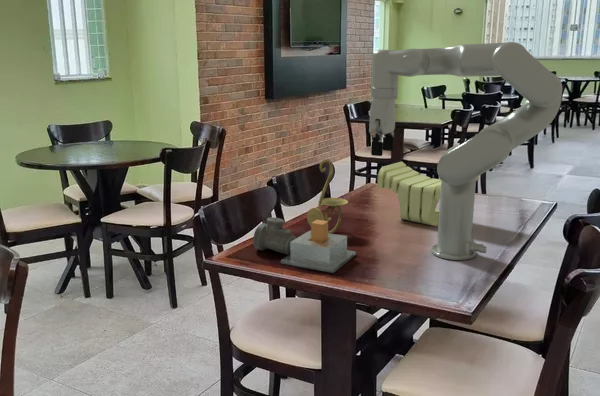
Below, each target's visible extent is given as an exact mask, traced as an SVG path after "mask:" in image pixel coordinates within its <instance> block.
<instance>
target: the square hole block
mask: <svg viewBox="0 0 600 396" xmlns="http://www.w3.org/2000/svg"><path fill="white" fill-rule="evenodd" d="M290 251H291V254H290V255H286V256H285V257H284V258H283V257H282V259H281V260H280V264H282V265H287V266H293V267H297V268H304V269H309V270H314V271H315V270H316V271H321V272H326V273H332V274H334V273H335V272H336V271H338V270H339V269H340V268H341V267H343V266H344V265H345V264H346V263H348V262H349V261H350V260H351V259H353V258H354V257H355V256H356V255H357V251H354V250H348V235H342V234H335V233H332V234H330V233H328V240H327V241H325V242H324V243H322V242H315V241H311V230H308V231H307V232H305V233H303V234H301V235H300V236H298V237H296V239H295V240H293V241H291V242H290ZM347 261H348V262H347Z"/></svg>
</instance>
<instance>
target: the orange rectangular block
mask: <svg viewBox="0 0 600 396" xmlns="http://www.w3.org/2000/svg"><path fill="white" fill-rule="evenodd" d="M310 228H311V229H310V231H311V241H315V242H322V243H324V242H325V241H327V240H328V232H329V221H327V220H324V221H323V220H315V221H313V222H312V223H311V226H310Z"/></svg>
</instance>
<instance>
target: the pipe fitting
mask: <svg viewBox="0 0 600 396" xmlns="http://www.w3.org/2000/svg"><path fill="white" fill-rule="evenodd" d="M284 223H285V220H284V219H282V218H280V217H273V216H271V217H266V222H263V223H260V224H258V225H257V227H256V228H255V230H254V234H253V238H252V244H253V247H254V248H255V249H256V250H259V251H265V250H270V251H271V250H272V251H274V252H278V253H281V254H284V255H286V256H288V255H290V254H291V251H290V242H291V241H293V240H295V239H296V238H297V236H295V235H294V234H293V233H292V231H291V230H290V229H288V228H284V227H283V226H284Z"/></svg>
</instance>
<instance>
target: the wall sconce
mask: <svg viewBox="0 0 600 396" xmlns="http://www.w3.org/2000/svg"><path fill="white" fill-rule="evenodd" d="M325 163H328V164H329V173H328V176H327V179H326V182H325V184H324V186H323V189H322V190H321V194H320V196H319V200H318V204H317V205H318V206H317V207H311V208H310V209H309V210H308V212H307V215H306V219H307V223H308V224H309V226H310V227H311V223H312V222H313V221H315V220H323V221H328V222H329V221H331V220H332V219H333V218H332V217H328V215H329V211H330V210H331V211H330V213H331V216H335V212H336V210H334V209H335V208H336V209H337V211H338V217H337V218H338V219H337V223H336V224H335V226H334V227H333V228H332V229H331V230H328V233H330V234H334V233H335V232H336V231H337V229H338V228H339V226H340V224H341V222H342V216H343V215H342V209H341V206H345V205H347V204H349V201H348V199H345V198H340V197H326V198H324V197H325V193H326V192H327V188H328V186H329V183H330V181H331V179H332V176H333V172H334V165H333V163H332V161H331V160H330V159H329V158H324V159H323V160H322V161H321V162H320V164H319V171H320V172H321V173H325V172H326V170H327V168H326V167H324V168H323V166H324V164H325ZM322 206H327V208H326V209H325V211H324V214H323V212H322V211H321V209H322Z"/></svg>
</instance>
